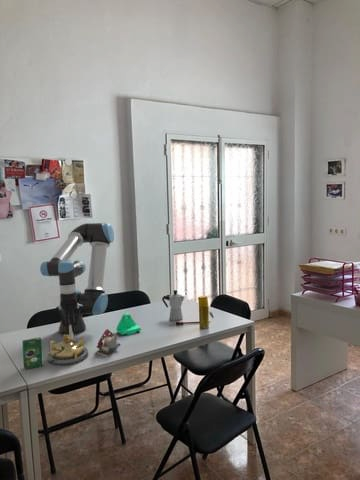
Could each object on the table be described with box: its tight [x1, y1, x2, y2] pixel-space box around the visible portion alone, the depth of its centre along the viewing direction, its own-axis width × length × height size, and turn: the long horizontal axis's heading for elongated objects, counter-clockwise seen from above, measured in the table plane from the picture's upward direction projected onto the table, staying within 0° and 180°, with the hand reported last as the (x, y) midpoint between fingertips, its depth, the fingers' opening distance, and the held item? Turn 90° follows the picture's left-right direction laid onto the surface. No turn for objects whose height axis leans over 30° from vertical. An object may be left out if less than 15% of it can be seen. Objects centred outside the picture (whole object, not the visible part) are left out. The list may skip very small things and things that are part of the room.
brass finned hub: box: [49, 334, 86, 359], centre depth 188 cm, size 16×16×6 cm
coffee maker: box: [161, 289, 186, 322], centre depth 243 cm, size 15×9×18 cm, turn 84°
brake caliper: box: [96, 328, 121, 357], centre depth 194 cm, size 11×11×12 cm
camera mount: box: [115, 312, 142, 336], centre depth 221 cm, size 12×8×10 cm, turn 122°
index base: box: [46, 347, 89, 367], centre depth 188 cm, size 19×19×5 cm
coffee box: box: [22, 337, 44, 370], centre depth 178 cm, size 8×3×13 cm, turn 120°
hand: (71, 338), depth 195 cm, fingers closed
